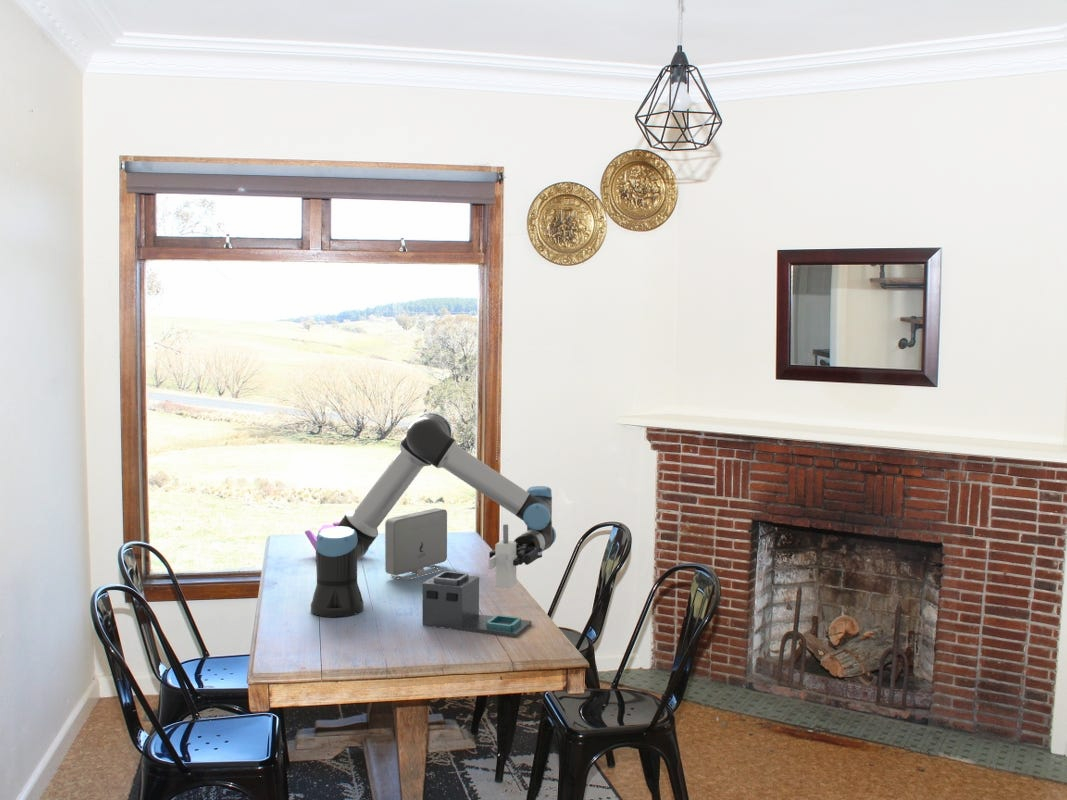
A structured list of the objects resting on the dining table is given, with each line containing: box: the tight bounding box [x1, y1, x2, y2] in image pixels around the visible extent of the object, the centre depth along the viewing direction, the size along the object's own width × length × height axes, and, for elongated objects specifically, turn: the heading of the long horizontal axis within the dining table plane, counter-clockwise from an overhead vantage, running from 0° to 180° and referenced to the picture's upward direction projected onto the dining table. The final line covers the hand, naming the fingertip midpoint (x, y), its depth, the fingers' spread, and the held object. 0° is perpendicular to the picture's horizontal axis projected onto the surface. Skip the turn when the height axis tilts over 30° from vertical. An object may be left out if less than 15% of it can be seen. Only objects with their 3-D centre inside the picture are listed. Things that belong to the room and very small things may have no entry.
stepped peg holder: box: [421, 570, 532, 638], centre depth 277 cm, size 13×28×13 cm, turn 70°
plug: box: [494, 523, 517, 589], centre depth 273 cm, size 5×4×17 cm
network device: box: [384, 507, 448, 580], centre depth 331 cm, size 26×9×20 cm, turn 143°
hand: (498, 564), depth 268 cm, fingers closed on plug, 4 cm apart
